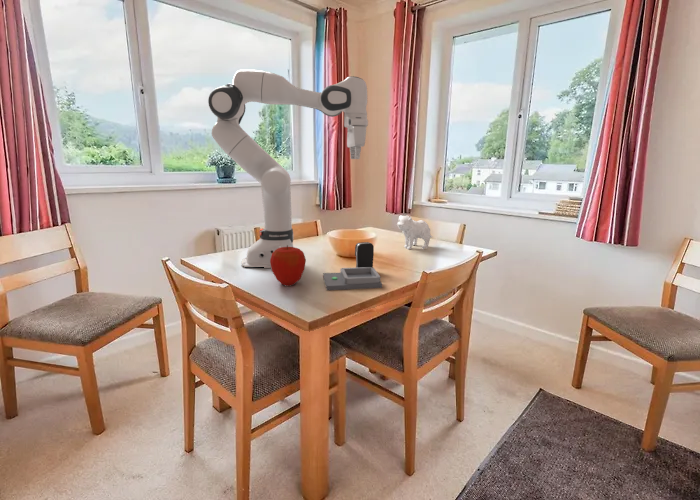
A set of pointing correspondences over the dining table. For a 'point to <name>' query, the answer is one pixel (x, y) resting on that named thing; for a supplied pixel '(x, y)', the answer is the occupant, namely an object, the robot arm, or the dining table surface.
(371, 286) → the charging dock
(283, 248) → the apple
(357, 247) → the battery
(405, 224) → the white dog figurine
